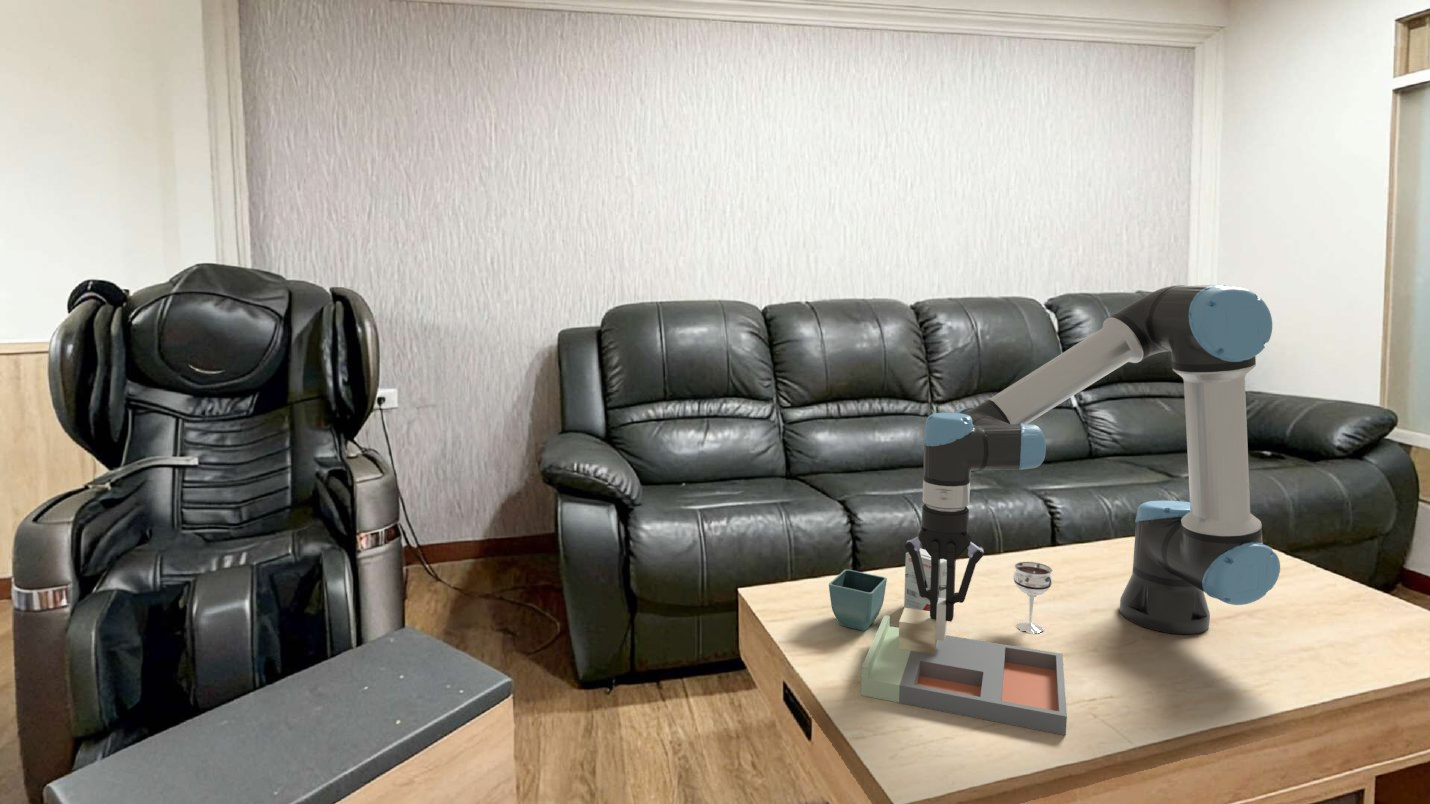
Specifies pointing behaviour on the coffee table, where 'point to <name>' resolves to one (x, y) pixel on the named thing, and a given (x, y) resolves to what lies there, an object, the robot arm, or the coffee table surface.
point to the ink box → (911, 588)
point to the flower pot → (857, 598)
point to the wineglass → (1032, 588)
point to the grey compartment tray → (970, 680)
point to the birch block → (917, 631)
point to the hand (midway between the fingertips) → (940, 636)
